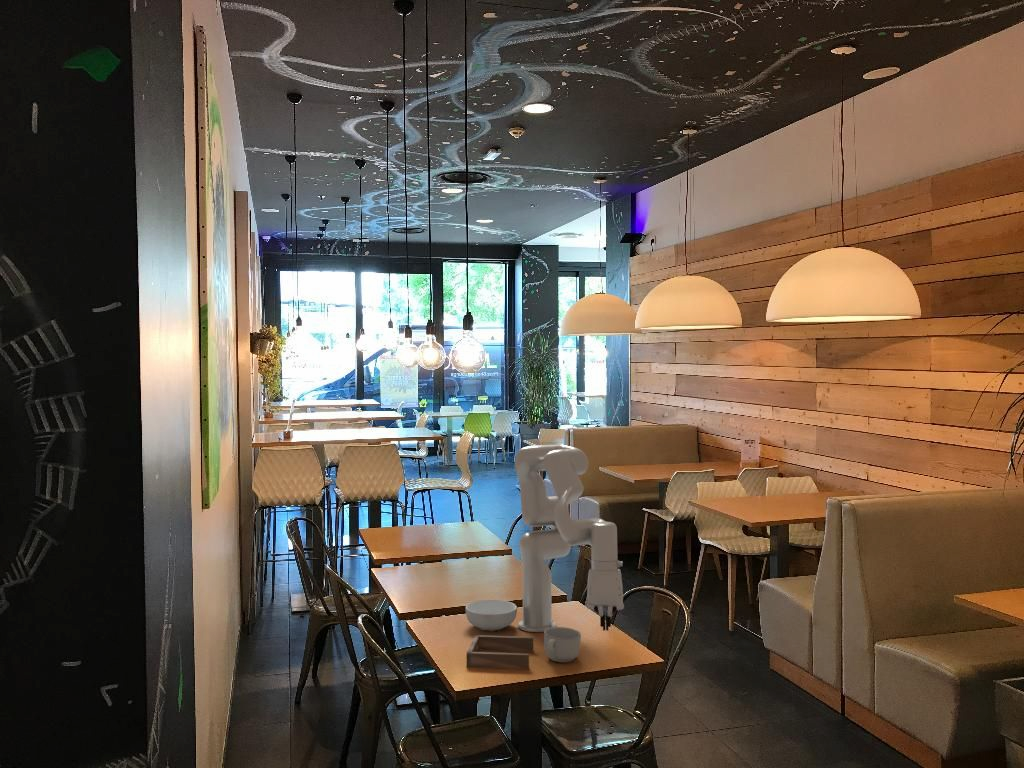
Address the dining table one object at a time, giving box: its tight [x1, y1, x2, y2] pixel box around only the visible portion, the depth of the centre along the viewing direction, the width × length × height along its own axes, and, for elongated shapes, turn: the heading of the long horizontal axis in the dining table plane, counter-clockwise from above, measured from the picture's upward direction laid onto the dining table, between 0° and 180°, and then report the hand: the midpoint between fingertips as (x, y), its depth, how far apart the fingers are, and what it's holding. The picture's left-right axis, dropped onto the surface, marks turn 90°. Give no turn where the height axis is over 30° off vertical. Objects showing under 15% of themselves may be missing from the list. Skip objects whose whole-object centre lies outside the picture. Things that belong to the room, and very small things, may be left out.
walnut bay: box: [466, 634, 534, 670], centre depth 241 cm, size 16×18×4 cm
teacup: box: [543, 626, 582, 663], centre depth 239 cm, size 14×11×8 cm
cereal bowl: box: [465, 599, 518, 631], centre depth 271 cm, size 17×17×7 cm
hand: (605, 629), depth 237 cm, fingers closed
